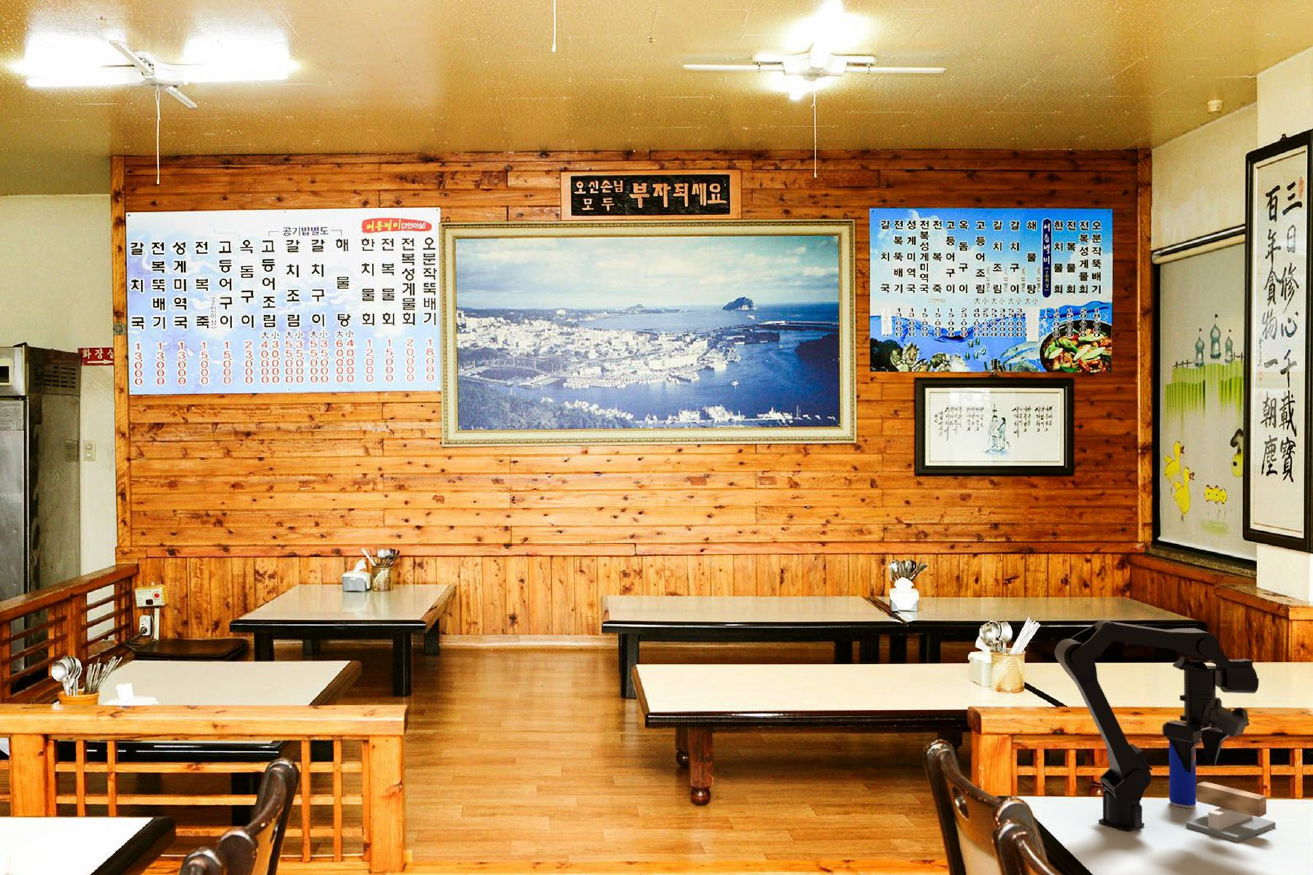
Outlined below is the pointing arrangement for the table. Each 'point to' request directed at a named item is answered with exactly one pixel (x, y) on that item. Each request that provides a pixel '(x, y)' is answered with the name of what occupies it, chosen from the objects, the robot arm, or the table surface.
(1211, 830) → the stand
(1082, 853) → the table surface
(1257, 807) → the oak bar
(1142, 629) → the robot arm
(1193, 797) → the beverage can
